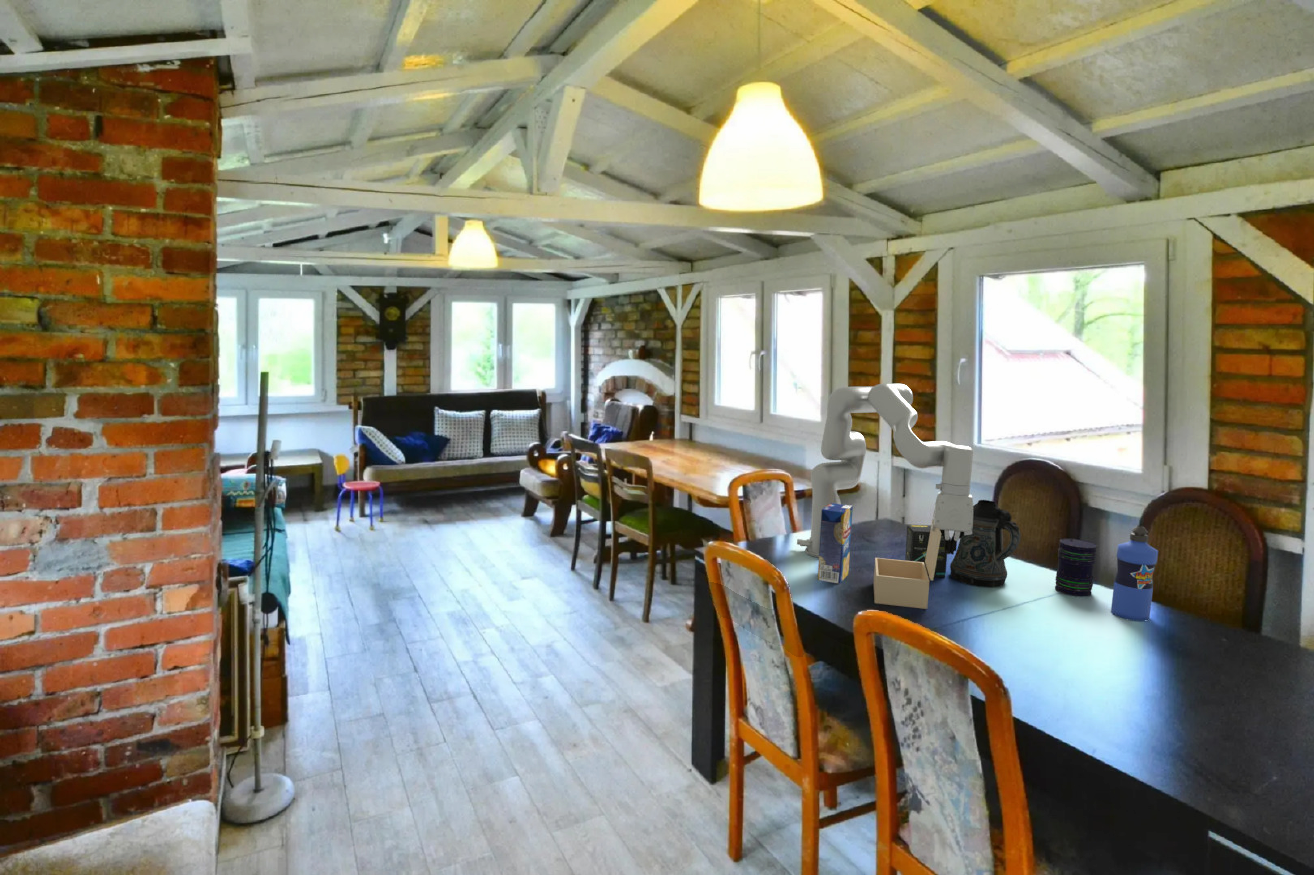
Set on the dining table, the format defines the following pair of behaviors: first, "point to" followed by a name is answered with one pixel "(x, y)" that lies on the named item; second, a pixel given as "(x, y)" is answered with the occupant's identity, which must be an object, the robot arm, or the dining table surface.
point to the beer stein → (985, 547)
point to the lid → (932, 551)
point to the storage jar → (1075, 567)
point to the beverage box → (835, 542)
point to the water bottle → (1134, 577)
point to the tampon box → (924, 548)
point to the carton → (901, 583)
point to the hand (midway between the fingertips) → (949, 552)
